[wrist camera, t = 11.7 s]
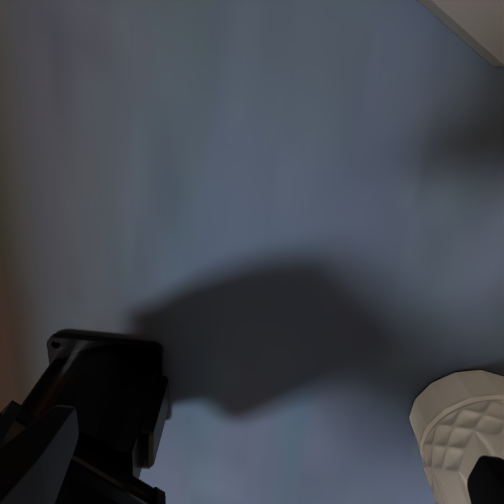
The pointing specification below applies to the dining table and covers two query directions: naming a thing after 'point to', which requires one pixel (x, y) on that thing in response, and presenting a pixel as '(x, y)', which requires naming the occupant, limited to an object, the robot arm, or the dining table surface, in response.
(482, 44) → the port board
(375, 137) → the dining table surface
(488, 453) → the white cup
